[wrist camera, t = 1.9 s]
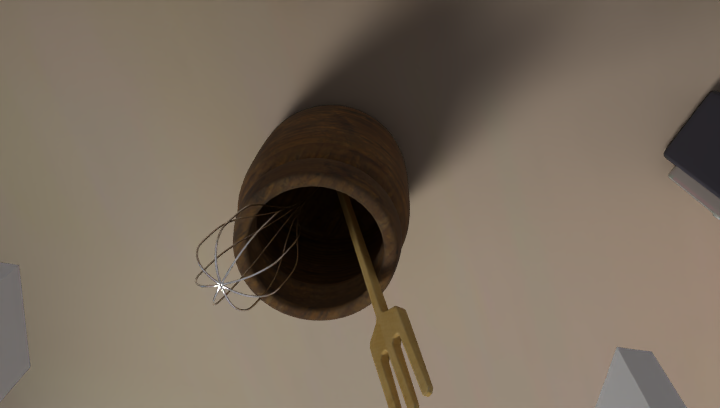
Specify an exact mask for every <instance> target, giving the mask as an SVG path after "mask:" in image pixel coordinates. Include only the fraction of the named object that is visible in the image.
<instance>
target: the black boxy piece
mask: <svg viewBox="0 0 720 408" xmlns="http://www.w3.org/2000/svg"><path fill="white" fill-rule="evenodd" d="M664 157H665V158H666V159H668V160H669V161H670V162H672V163H673V164H674V165H675V167H674V168H673V169H672V171H671V172H670V173H669V174H668V177H669V178H670V179H671V180H673V181H674V182H675V183H676V184H677V185H679V186H680V187H681V188H682V189H684V190H685V191H686V192H687V193H688V194H690V195H691V196H692V197H693V198H695V199H696V200H697V201H698V202H700V203H701V204H702V205H703V206H704V207H706V208H707V209H708V210H709V211H711V212H712V213H713V216H714V217H716V218H717V219H719V220H720V92H717V91H712V92H710V93H709V95H708V96H707V97H706V98H705V100H704V101H703V102H702V103H701V105H700V106H699V107H698V109H697V110H696V111H695V112H694V114H693V115H692V116H691V118H690V119H689V120H688V122H687V123H686V124H685V125H684V127H683V128H682V129H681V131H680V132H679V133H678V135H677V136H676V137H675V138H674V140H673V141H672V142H671V144H670V145H669V146H668V148H667V149H666V150H665V152H664Z"/></svg>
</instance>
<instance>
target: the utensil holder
mask: <svg viewBox="0 0 720 408" xmlns="http://www.w3.org/2000/svg"><path fill="white" fill-rule="evenodd" d="M235 216H236V219H233V218H234V217H235ZM409 216H410V201H409V188H408V179H407V172H406V167H405V163H404V159H403V156H402V153H401V151H400V149H399V147H398V145H397V143H396V141H395V140H394V138H393V137H392V135H391V134H390V133H389V132H388V131H387V130H386V128H385V127H384V126H382V125H381V124H380V123H379V122H378V121H377V120H375V119H374V118H372V117H371V116H369V115H367V114H365V113H363V112H361V111H359V110H356V109H353V108H349V107H345V106H337V105H323V106H316V107H312V108H308V109H305V110H303V111H300V112H298V113H296V114H294V115H293V116H291V117H289V118H288V119H286V120H285V121H284V122H282V123H281V124H280V125H279V126H278V127H277V128H276V129H275V130H274V131H273V132H272V133H271V135H270V136H269V137H268V139H267V140H266V141H265V143H264V144H263V146H262V147H261V149H260V151H259V152H258V154H257V155H256V157H255V159H254V161H253V162H252V164H251V166H250V168H249V170H248V172H247V174H246V176H245V178H244V181H243V184H242V186H241V190H240V194H239V200H238V212H237V213H236V214H235V215H234V216H233V217H232V218H230V219H229V220H228V221H227V222H226V223H224V224H222V225H220V226H219V227H217V228H216V229H215V230H213V231H212V232H211V233H210V234H209V235H208V236H207V237H206V238H204V239H203V240H202V241H201V242H200V244H199V245H198V247H197V249H196V258H197V262H198V264H199V266H200V268H201V269H202V271H201V272H200V273H199V274H198V275H197V277H196V278H195V283H196V285H198V286H200V287H215V286H219V287H218V289H217V291H216V293H215V296H214V298H213V302H212V304H213V305H217V304H218V303H219V302H220V301H221V300H222V299H223V298H224V297H225V298H226V299H227V301H228V302H229V303H230V305H231V306H232V307H233V308H235V309H236V310H238V311H248V310H250V309H251V308H253V307H254V306H255V305H256V304H257V303H258V301H259V300H260V299H261V300H262V301H264V302H265V303H266V304H268V305H269V306H271V307H272V308H274V309H276V310H278V311H280V312H282V313H284V314H287V315H290V316H293V317H296V318H300V319H306V320H333V319H338V318H342V317H346V316H349V315H352V314H354V313H356V312H358V311H360V310H362V309H364V308H365V307H367V306H368V305H370V304H371V303H372V305H373V308H374V311H375V314H376V326H375V329H374V332H373V335H372V338H371V341H370V349H371V353H372V357H373V360H374V363H375V366H376V369H377V372H378V375H379V379H380V382H381V385H382V388H383V391H384V394H385V397H386V401H387V404H388V407H389V408H401V404H400V400H399V397H398V393H397V390H396V386H395V383H394V379H393V375H392V372H391V368H390V365H389V358H390V360H391V363H392V366H393V368H394V371H395V374H396V377H397V380H398V383H399V386H400V388H401V391H402V394H403V397H404V400H405V403H406V405H407V408H419V403H418V400H417V397H416V394H415V391H414V387H413V384H412V381H411V378H410V375H409V371H408V368H407V365H406V362H405V359H404V356H403V352H402V349H401V340H402V343H403V345H404V348H405V351H406V353H407V356H408V358H409V361H410V363H411V366H412V369H413V371H414V374H415V376H416V379H417V382H418V384H419V387H420V389H421V392H422V394H423V395H424V396H427V397H429V396H430V395H431V394H432V391H433V386H432V383H431V381H430V378H429V375H428V372H427V369H426V366H425V363H424V361H423V358H422V355H421V352H420V349H419V346H418V343H417V341H416V338H415V335H414V332H413V329H412V326H411V323H410V321H409V318H408V315H407V313H406V310H405V309H403V308H400V307H397V306H394V307H393V308H391V309H389V310H388V308H387V305H386V302H385V299H384V296H383V291H384V290H385V289H386V287H387V286H388V284H389V283H390V281H391V279H392V277H393V275H394V272H395V270H396V267H397V264H398V261H399V258H400V253H401V248H402V246H403V243H404V241H405V238H406V235H407V231H408V225H409ZM232 219H233V220H232ZM232 221H235V225H234V234H233V245H232V246H231V247H229V248H228V249H226V250H225V251H223V252H222V253H221V254H220V255H218V256H217V245H218V240H219V237H220V234H221V232H222V230H223V228H224V227H225V226H226V225H227V224H228V223H229V222H232ZM222 226H223V227H222ZM220 227H222V228H221V230H220V232H219V234H218V237H217V240H216V245H215V259H214V260H212V261H211V262H210V263H209V264H208V265H207V266H206V267H205V268H204V269H203V267H202V266H201V264H200V262H199V259H198V249H199V247H200V245H201V244H202V243H203V242H204V241H205V240H206V239H207V238H208V237H209V236H210V235H211V234H213V233H214V232H215V231H216V230H217V229H219V228H220ZM232 247H233V249H234V256H235V260H234V262H233V263H232V265H231V266H230V268H229V270H228V271H227V273H226V275H225V276H224V278H223V280H222V282H221V280H220V277H219V272H218V267H217V258H218V257H220V256H221V255H222V254H223V253H225V252H226V251H227V250H229V249H230V248H232ZM214 261H215V267H216V272H217V277H218V280H219V282H218V281H217V280H215V279H214V278H213V277H211V276H210V275H209V274H208V273H207V272H206V271H205V269H206V268H208V267H209V266H210V265H211V264H212V263H213V262H214ZM235 262H236V264H237V267H238V269H239V271H240V274H241V276H242V277H241V278H240V279H238V280H235V281H231V282H227V283H223V282H224V280H225V278H226V277H227V275H228V273H229V272H230V270H231V268H232V267H233V265H234V264H235ZM202 272H204V273H205V274H206V275H207V276H208V277H209V278H211V279H212V280H213V281H214V282H216V283H217V284H216V285H200V284H198V283H197V278H198V277H199V276H200V275H201V273H202ZM241 280H244V281H245V282H246V284H247V285H248V286H249V288H250V289H251V290H252V291H253V292H254V293H255V294H256V295H257V296H254V295H247V294H243V293H239V292H237V291H234V290H232V289H233V288H234V287H235V286H236V285H237V284H238V283H239V281H241ZM235 282H236V283H235ZM231 283H235V284H234V286H233V287H232V288H231V289H230V288H228V287H226V286H224V285H227V284H231ZM223 287H224V288H226V289H227V290H229V291H228V292H227V293H225V291H224V288H223ZM220 288H221V289H222V291H223V294H224V296H223V297H222V298H221V299H220V300H219V301H218V302H216V303H214V301H215V298H216V296H217V294H218V292H219V290H220ZM230 291H232V292H234V293H236V294H239V295H243V296H247V297H259V299H258V300H257V301H256V302H255V303H254V304H253V305H252V306H251V307H250V308H248V309H244V310H243V309H239V308H237V307H235V306H234V305H233V304H232V303H231V302H230V300H229V299H228V297H227V294H228V293H229V292H230Z"/></svg>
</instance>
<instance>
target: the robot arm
mask: <svg viewBox="0 0 720 408" xmlns="http://www.w3.org/2000/svg"><path fill="white" fill-rule="evenodd" d="M29 368H30V359H29V350H28V341H27V332H26V323H25V314H24V305H23V296H22V287H21V278H20V269H19V265H15V264H8V263H1V262H0V402H1V400H2V399H3V398H4V397H5V396H6V395H7V393H8V392H9V391H10V390H11V389H12V388H13V386H14V385H15V384H16V383H17V382H18V381H19V379H20V378H21V377H22V376H23V375H24V374H25V373H26V371H27V370H28V369H29ZM595 408H687V407H686V406H685V404H684V402H683V401H682V399H681V398H680V396H679V394H678V393H677V391H676V390H675V388H674V386H673V385H672V383H671V382H670V380H669V378H668V377H667V375H666V374H665V372H664V370H663V369H662V367H661V366H660V364H659V362H658V361H657V359H656V358H655V356H654V354H653V353H652V352H650V351H643V350H636V349H628V348H621V347H617V348H616V351H615V354H614V356H613V359H612V362H611V365H610V368H609V370H608V373H607V376H606V379H605V382H604V384H603V387H602V390H601V393H600V396H599V398H598V401H597V404H596V407H595Z"/></svg>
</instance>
